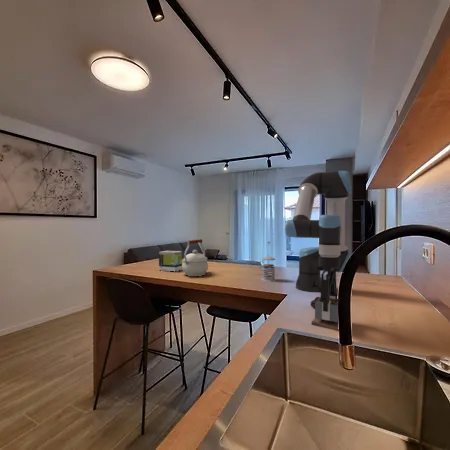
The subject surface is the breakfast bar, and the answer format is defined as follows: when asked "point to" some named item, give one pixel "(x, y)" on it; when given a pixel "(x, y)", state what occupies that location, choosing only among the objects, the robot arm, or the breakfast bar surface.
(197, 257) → the kettle
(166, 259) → the tea box
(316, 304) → the grey open box
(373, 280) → the breakfast bar surface
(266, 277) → the french press
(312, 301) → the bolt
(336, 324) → the keeper base
